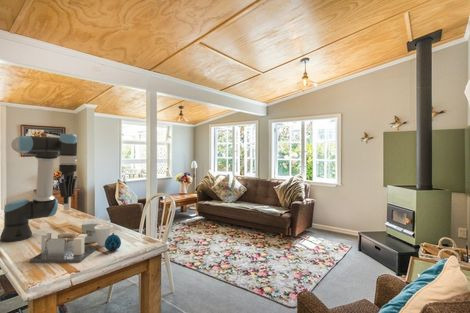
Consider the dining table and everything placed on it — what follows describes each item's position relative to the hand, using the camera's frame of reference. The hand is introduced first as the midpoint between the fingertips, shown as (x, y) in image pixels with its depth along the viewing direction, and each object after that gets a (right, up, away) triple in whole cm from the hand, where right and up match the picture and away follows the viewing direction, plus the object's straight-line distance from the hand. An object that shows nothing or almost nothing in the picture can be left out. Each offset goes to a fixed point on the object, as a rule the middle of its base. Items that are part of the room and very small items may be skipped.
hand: (67, 209), depth 132 cm
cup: (+8, -26, +21) cm, 34 cm away
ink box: (-3, -25, +27) cm, 37 cm away
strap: (-5, -17, +4) cm, 19 cm away
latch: (+4, -24, +4) cm, 25 cm away
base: (-4, -25, +5) cm, 26 cm away
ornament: (+18, -26, +12) cm, 34 cm away
